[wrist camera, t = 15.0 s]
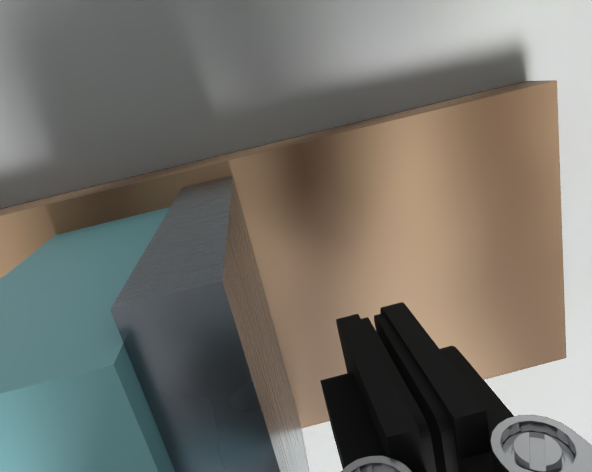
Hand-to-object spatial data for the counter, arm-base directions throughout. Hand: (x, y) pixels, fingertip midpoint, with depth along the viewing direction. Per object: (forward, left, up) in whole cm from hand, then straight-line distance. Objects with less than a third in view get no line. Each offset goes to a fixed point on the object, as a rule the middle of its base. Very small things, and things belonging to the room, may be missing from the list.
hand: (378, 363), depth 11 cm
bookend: (+3, 0, -4) cm, 5 cm away
